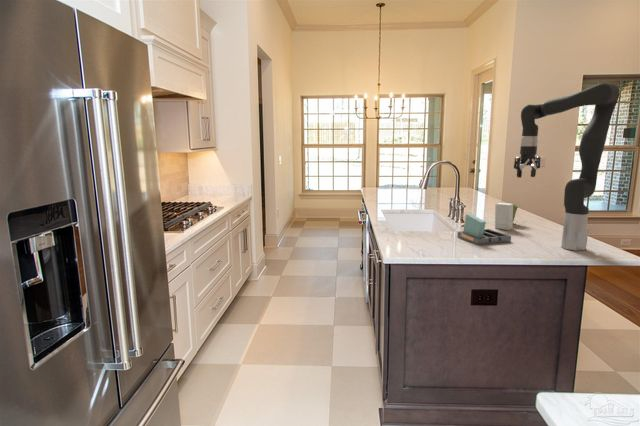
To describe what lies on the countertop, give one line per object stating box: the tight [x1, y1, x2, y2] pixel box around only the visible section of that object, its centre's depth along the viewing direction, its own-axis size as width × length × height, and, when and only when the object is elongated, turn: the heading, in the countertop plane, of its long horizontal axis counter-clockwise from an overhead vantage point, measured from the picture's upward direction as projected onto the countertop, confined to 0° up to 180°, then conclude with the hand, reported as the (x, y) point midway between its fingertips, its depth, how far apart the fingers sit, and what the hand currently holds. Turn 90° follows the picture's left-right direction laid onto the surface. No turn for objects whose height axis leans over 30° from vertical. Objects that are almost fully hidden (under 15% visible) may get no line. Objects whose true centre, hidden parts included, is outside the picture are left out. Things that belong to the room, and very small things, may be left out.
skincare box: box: [494, 202, 514, 231], centre depth 227 cm, size 8×6×15 cm
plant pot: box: [513, 204, 520, 222], centre depth 241 cm, size 12×12×11 cm
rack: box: [457, 228, 512, 246], centre depth 205 cm, size 17×20×3 cm
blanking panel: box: [462, 213, 487, 238], centre depth 203 cm, size 12×3×10 cm, turn 16°
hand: (526, 177), depth 202 cm, fingers open, 8 cm apart
